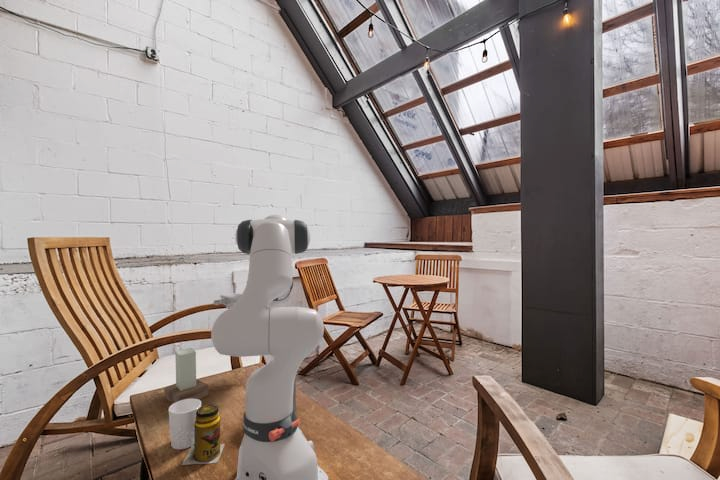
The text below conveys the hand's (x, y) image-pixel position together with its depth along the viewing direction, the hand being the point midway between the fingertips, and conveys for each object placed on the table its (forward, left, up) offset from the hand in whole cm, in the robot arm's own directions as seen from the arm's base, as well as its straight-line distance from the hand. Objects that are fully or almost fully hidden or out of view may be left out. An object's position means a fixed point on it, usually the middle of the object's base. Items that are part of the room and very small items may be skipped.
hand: (220, 304), depth 126 cm
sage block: (0, +12, -26) cm, 29 cm away
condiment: (-35, +22, -30) cm, 51 cm away
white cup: (-26, +23, -30) cm, 46 cm away
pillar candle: (-34, -2, -30) cm, 46 cm away
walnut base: (0, +12, -30) cm, 33 cm away
